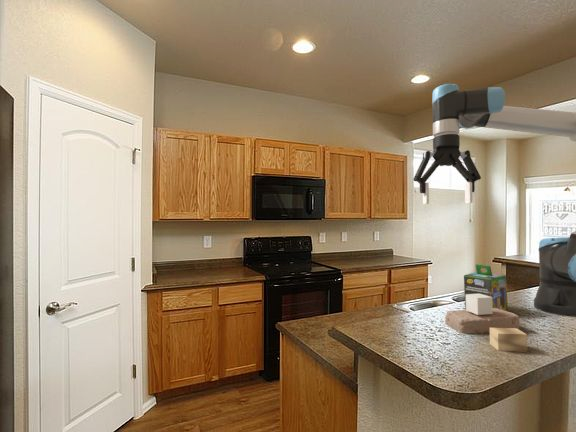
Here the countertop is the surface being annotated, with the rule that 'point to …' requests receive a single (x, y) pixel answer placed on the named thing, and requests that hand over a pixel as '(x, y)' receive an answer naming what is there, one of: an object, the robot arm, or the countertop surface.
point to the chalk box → (487, 286)
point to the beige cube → (479, 304)
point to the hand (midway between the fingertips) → (447, 203)
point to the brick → (480, 321)
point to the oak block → (508, 339)
